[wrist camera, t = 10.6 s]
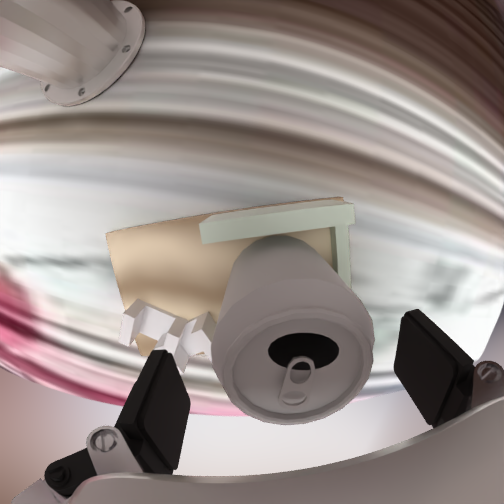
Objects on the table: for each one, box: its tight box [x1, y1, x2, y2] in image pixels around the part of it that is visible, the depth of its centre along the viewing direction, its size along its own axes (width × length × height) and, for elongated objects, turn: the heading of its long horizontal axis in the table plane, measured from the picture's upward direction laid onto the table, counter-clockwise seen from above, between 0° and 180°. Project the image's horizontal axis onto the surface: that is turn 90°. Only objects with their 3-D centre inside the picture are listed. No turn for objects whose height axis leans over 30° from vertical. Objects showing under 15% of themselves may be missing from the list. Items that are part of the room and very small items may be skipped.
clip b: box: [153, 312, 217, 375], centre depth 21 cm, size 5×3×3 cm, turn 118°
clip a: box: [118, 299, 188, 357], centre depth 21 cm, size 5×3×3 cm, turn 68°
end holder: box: [199, 199, 355, 289], centre depth 19 cm, size 12×10×5 cm
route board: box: [106, 197, 344, 356], centre depth 22 cm, size 12×20×1 cm, turn 98°
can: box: [211, 236, 375, 425], centre depth 15 cm, size 8×8×12 cm
